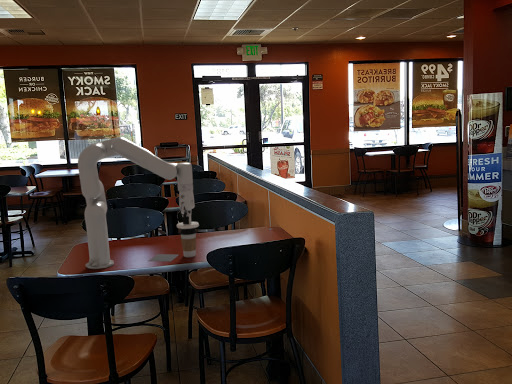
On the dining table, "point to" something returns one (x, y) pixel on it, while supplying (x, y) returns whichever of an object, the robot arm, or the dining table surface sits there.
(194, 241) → the coffee cup
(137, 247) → the dining table surface
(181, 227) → the lid
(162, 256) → the mat
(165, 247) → the dining table surface
